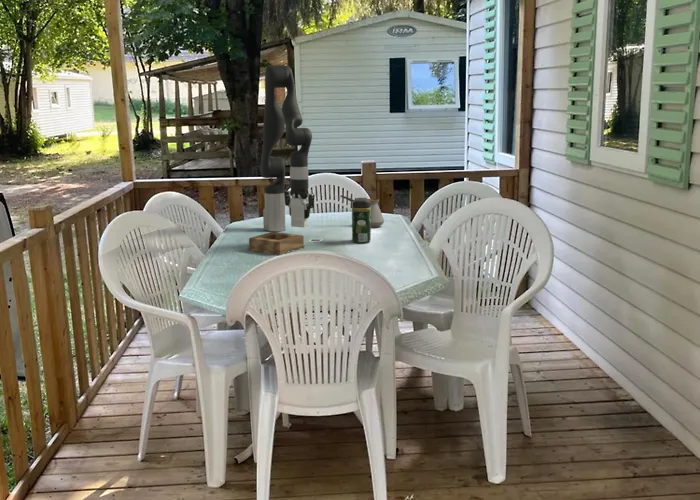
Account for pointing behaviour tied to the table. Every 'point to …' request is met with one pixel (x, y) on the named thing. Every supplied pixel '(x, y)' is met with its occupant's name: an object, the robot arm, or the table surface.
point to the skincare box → (298, 213)
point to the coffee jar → (361, 220)
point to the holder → (276, 243)
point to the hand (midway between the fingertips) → (299, 217)
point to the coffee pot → (373, 212)
